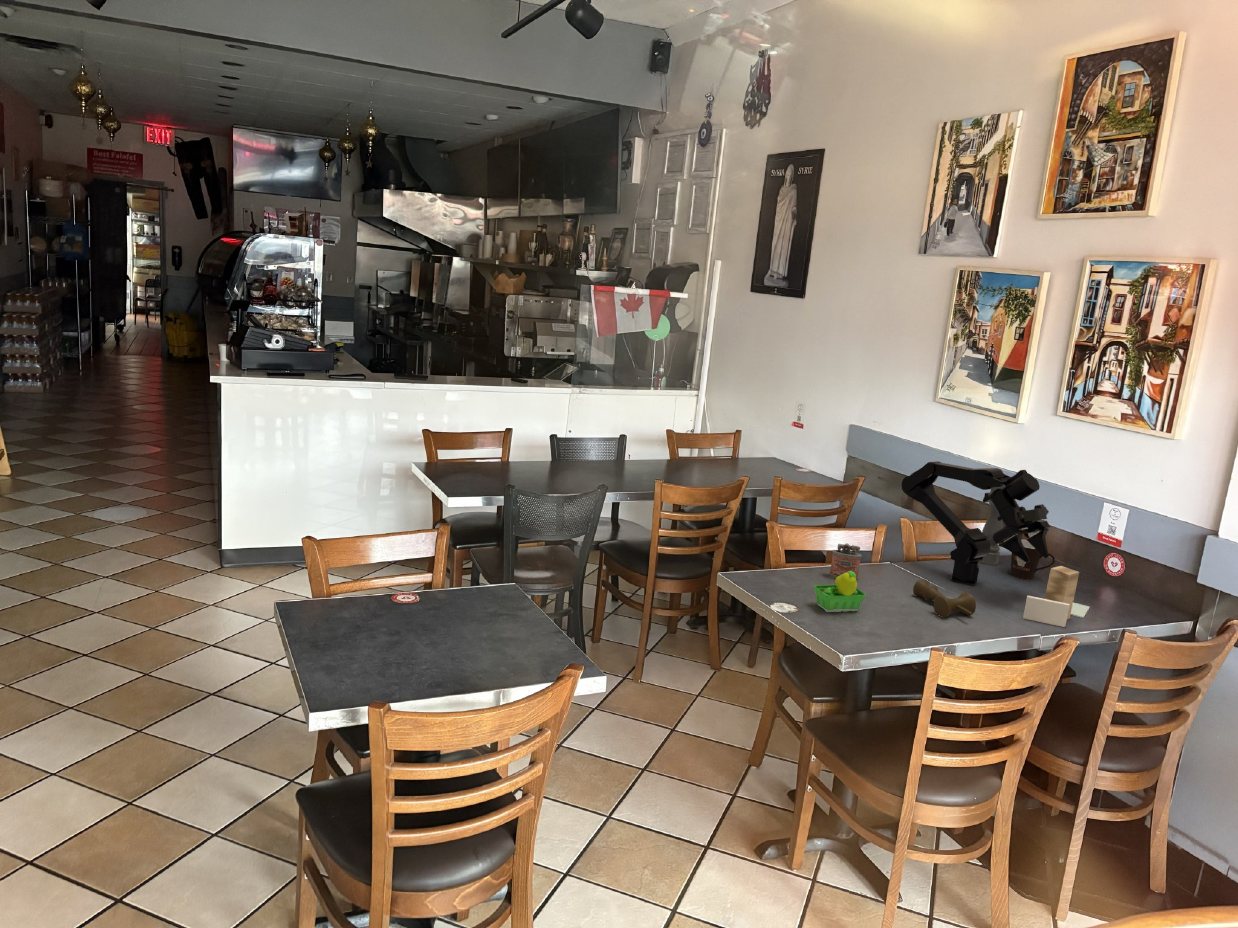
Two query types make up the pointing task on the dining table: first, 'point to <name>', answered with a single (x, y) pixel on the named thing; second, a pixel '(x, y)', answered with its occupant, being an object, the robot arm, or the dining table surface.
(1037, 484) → the robot arm
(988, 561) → the candle holder
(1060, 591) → the tan wooden tall block
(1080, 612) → the display mat
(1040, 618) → the screen
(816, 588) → the fruit basket
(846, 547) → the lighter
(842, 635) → the dining table surface
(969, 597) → the kendama
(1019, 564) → the coffee mug
